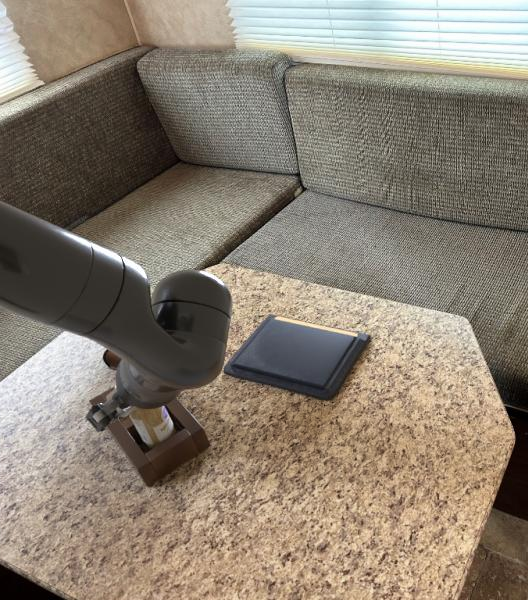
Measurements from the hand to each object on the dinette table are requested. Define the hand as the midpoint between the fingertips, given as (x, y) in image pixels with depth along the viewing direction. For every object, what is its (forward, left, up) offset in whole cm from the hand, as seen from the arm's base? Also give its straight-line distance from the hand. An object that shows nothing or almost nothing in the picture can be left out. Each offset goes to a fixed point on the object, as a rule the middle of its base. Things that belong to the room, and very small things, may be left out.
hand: (135, 396), depth 81 cm
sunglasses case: (+10, +23, -10) cm, 27 cm away
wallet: (+24, -1, -10) cm, 26 cm away
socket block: (0, +2, -10) cm, 10 cm away
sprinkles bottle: (0, -2, -10) cm, 10 cm away
